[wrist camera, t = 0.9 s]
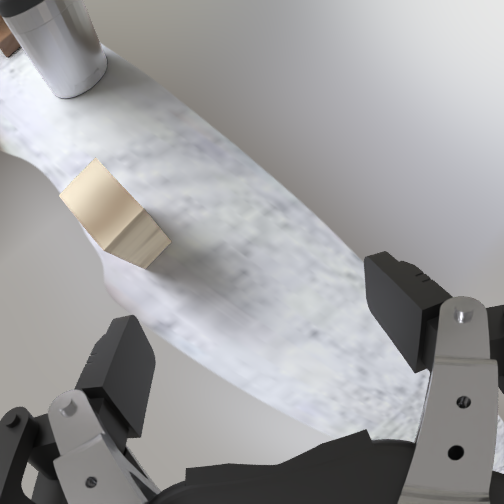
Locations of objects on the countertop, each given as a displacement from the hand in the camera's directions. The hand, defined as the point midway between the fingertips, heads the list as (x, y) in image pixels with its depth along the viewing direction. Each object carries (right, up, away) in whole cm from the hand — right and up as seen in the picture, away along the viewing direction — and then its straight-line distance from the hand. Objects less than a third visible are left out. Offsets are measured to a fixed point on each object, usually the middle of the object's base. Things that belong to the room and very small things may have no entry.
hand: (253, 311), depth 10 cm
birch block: (-12, +4, +22) cm, 25 cm away
